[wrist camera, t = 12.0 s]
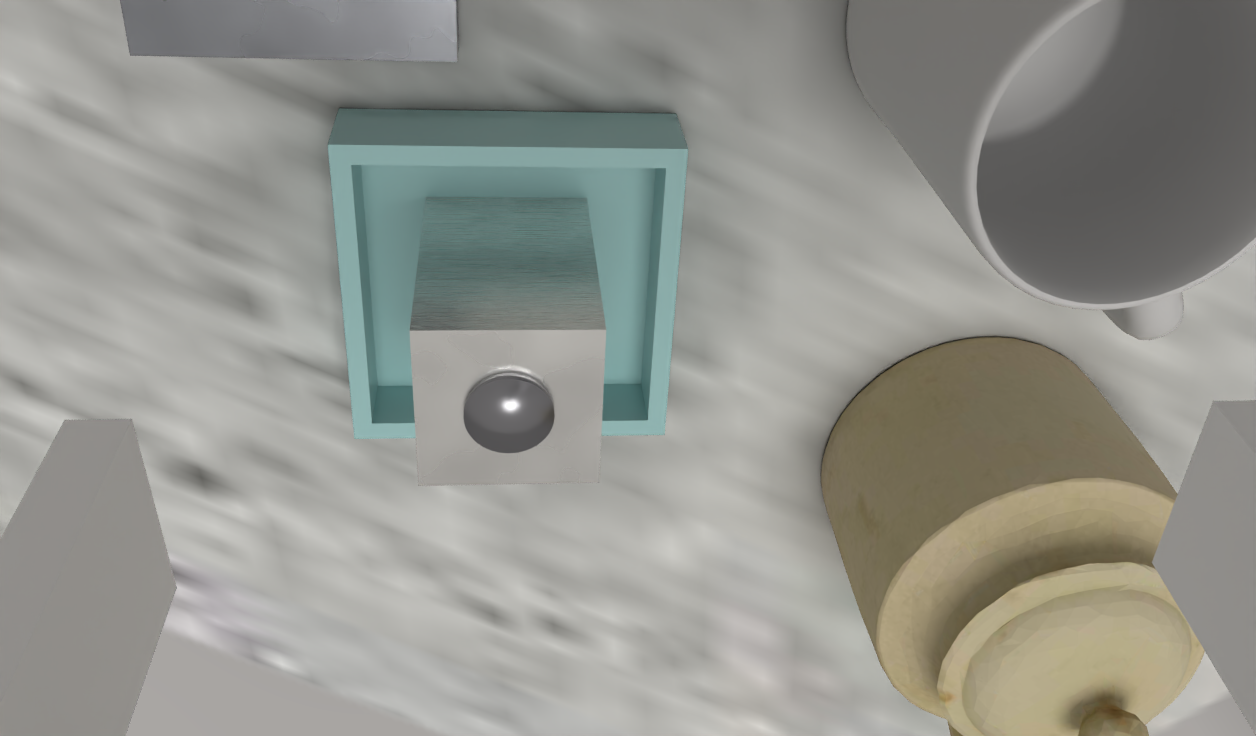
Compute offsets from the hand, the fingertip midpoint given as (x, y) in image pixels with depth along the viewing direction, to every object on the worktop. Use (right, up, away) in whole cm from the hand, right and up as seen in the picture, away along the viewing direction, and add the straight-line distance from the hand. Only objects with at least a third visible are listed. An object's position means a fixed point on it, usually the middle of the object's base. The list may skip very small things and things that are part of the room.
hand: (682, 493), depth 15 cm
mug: (+11, +11, +22) cm, 27 cm away
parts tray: (-4, +5, +24) cm, 25 cm away
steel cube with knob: (-5, +5, +23) cm, 24 cm away
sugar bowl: (+13, -3, +31) cm, 34 cm away
